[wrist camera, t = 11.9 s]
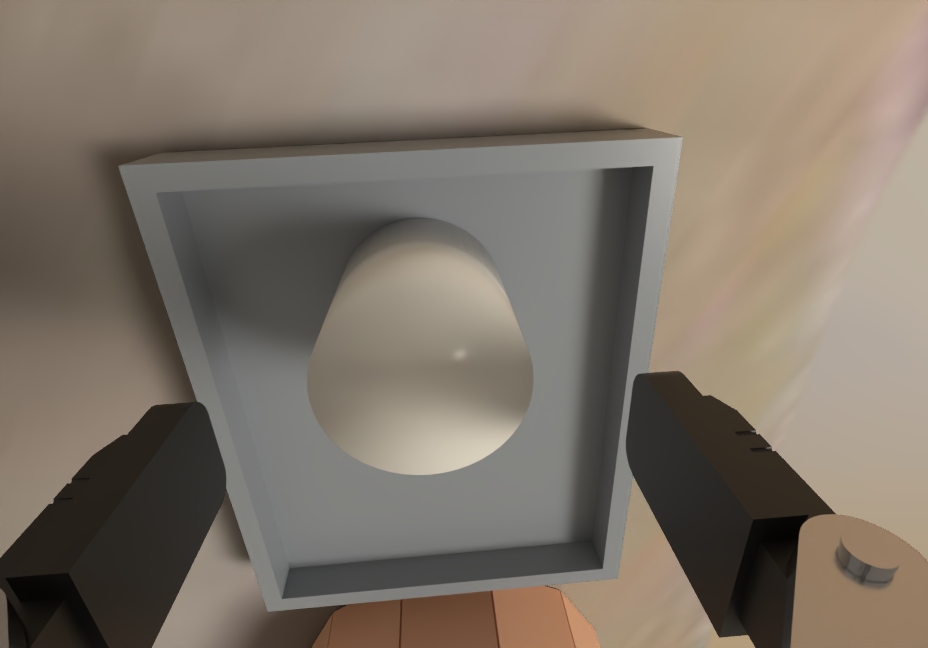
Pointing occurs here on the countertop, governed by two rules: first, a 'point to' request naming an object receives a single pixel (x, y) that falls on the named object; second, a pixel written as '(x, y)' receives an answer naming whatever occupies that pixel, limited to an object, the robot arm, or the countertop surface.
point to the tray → (306, 306)
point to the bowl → (462, 622)
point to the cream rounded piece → (420, 353)
